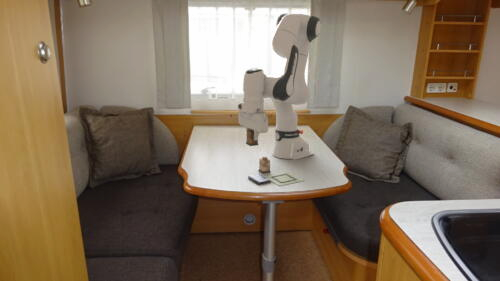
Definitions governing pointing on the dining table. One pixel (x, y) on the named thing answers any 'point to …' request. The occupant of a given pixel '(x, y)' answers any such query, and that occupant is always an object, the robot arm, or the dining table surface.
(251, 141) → the walnut stamp
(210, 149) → the dining table surface
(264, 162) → the beech stamp
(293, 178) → the form card
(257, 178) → the ink pad
